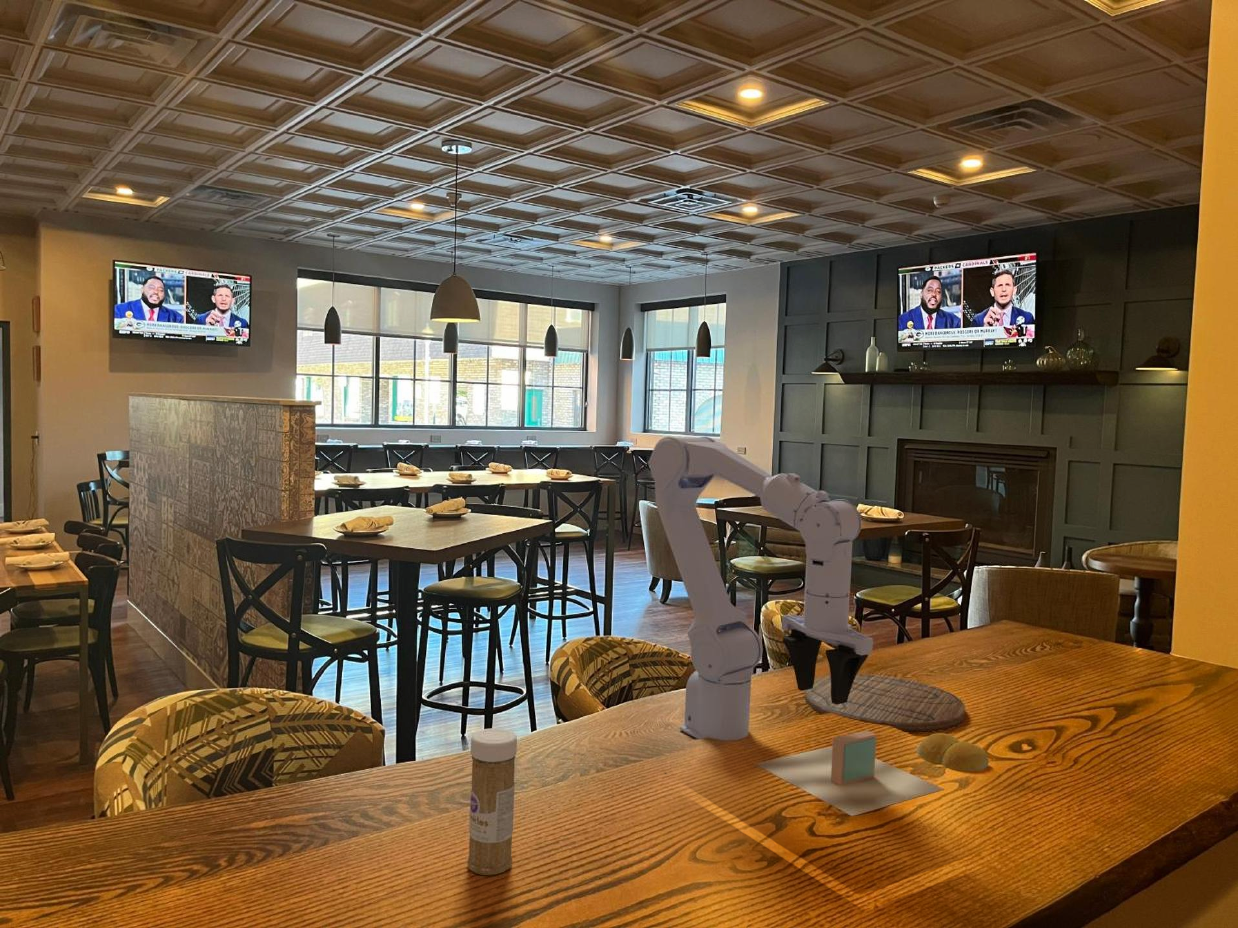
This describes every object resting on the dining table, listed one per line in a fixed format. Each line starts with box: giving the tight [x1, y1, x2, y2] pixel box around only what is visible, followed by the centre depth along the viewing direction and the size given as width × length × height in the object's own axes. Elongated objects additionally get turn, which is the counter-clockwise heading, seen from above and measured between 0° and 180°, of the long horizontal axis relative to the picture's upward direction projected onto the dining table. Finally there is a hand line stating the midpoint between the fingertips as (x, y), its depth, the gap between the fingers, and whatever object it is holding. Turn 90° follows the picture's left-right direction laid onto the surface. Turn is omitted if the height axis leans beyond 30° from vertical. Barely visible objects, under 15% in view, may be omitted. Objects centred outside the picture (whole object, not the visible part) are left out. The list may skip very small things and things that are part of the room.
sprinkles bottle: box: [467, 727, 518, 876], centre depth 90 cm, size 5×5×13 cm
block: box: [831, 730, 877, 786], centre depth 113 cm, size 2×6×6 cm, turn 122°
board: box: [754, 745, 945, 817], centre depth 114 cm, size 17×16×1 cm
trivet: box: [804, 673, 966, 734], centre depth 146 cm, size 25×25×2 cm
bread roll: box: [915, 732, 990, 772], centre depth 122 cm, size 8×9×4 cm
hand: (821, 695), depth 118 cm, fingers open, 6 cm apart
